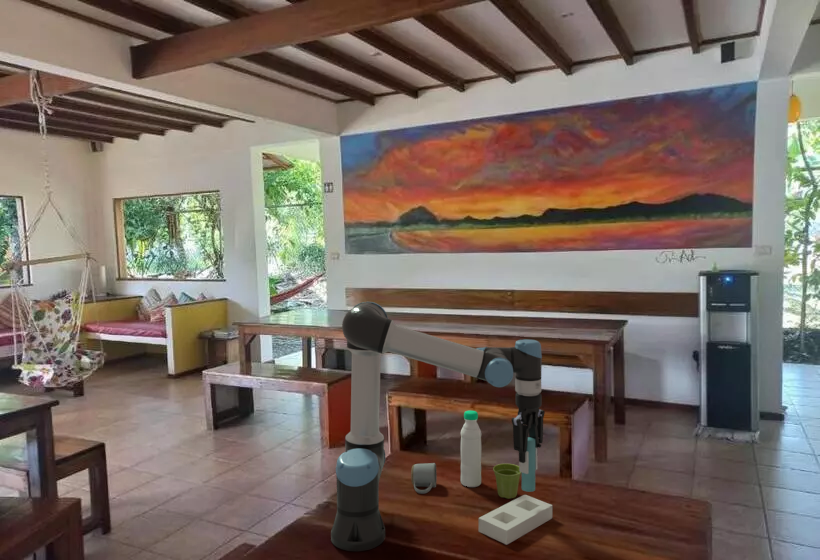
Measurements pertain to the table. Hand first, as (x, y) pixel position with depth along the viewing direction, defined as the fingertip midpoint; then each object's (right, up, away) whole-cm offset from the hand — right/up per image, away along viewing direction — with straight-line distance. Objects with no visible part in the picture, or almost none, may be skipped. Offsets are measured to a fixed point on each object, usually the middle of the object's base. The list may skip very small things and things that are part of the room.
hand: (528, 470), depth 171 cm
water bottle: (-14, -13, +26) cm, 33 cm away
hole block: (-4, -15, -3) cm, 16 cm away
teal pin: (0, -6, 0) cm, 6 cm away
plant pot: (-3, -14, +17) cm, 22 cm away
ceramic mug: (-30, -14, +23) cm, 41 cm away
